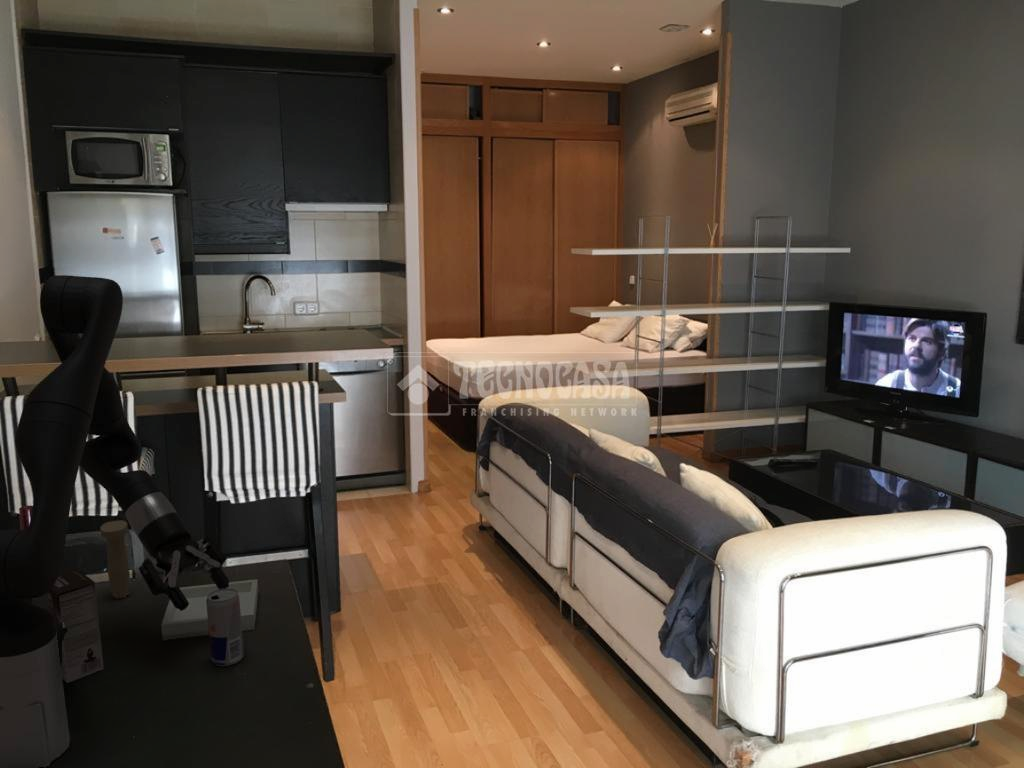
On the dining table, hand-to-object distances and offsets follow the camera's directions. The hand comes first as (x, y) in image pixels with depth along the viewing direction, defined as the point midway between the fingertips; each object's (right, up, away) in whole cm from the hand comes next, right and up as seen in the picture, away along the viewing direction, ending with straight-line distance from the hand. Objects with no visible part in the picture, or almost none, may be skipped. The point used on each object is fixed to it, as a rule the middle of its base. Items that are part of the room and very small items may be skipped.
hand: (206, 598), depth 145 cm
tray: (-4, -7, +16) cm, 18 cm away
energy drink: (+4, -11, 0) cm, 11 cm away
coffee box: (-21, -11, -2) cm, 24 cm away
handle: (-26, -6, +25) cm, 37 cm away
